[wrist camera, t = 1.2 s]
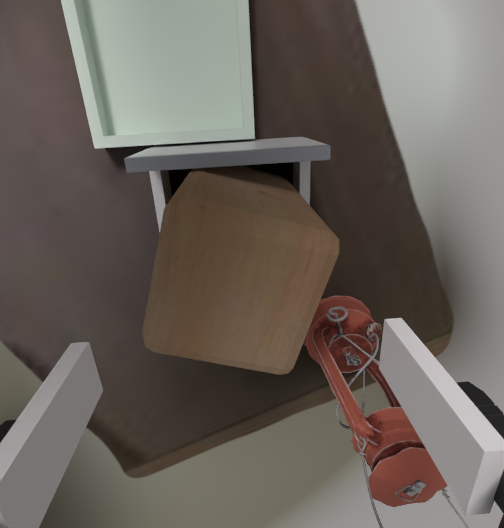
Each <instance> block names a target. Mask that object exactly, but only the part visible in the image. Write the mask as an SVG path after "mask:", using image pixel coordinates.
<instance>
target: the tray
mask: <svg viewBox="0 0 504 528" xmlns="http://www.w3.org/2000/svg"><path fill="white" fill-rule="evenodd" d="M61 3H62V7H63V12H64V16H65V20H66V25H67V29H68V33H69V38H70V42H71V47H72V51H73V55H74V60H75V64H76V69H77V73H78V77H79V82H80V86H81V91H82V95H83V99H84V104H85V108H86V113H87V117H88V121H89V126H90V130H91V135H92V139H93V143H94V148H111V147H128V146H144V145H160V144H176V143H193V142H209V141H225V140H241V139H255V128H254V107H253V86H252V66H251V45H250V24H249V3H248V0H61Z"/></svg>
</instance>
